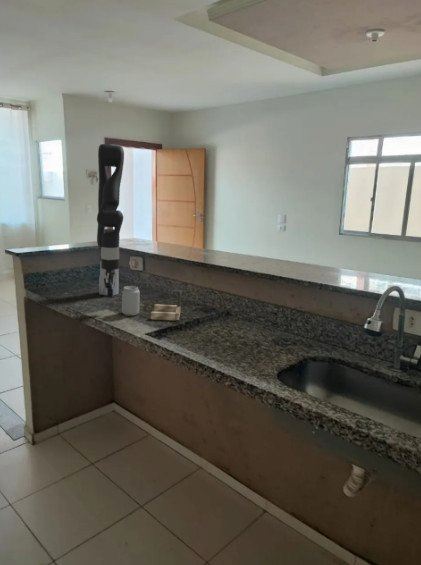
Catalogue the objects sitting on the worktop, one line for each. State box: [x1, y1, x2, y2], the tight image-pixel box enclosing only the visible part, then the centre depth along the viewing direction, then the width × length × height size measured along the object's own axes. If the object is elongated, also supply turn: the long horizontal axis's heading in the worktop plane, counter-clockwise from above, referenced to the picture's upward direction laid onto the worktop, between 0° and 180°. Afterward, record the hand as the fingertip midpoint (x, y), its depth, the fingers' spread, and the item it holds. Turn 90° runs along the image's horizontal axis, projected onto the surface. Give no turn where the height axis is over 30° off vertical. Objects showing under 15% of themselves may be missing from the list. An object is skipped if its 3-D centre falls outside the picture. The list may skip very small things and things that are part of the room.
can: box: [121, 285, 141, 317], centre depth 175 cm, size 8×8×12 cm
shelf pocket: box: [150, 289, 182, 322], centre depth 176 cm, size 12×13×10 cm
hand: (110, 297), depth 175 cm, fingers closed
